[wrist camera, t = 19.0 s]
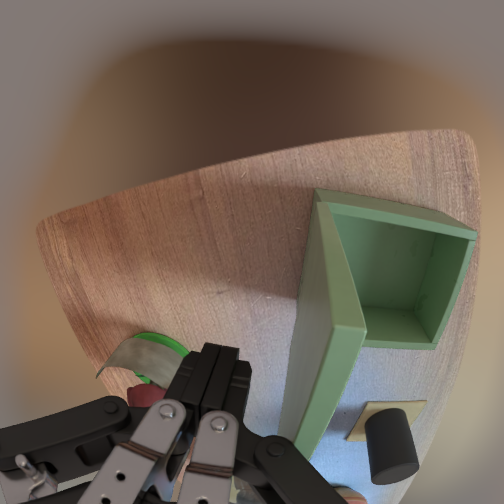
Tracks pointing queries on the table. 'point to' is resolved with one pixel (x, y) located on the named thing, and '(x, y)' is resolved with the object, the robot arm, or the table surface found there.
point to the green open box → (399, 266)
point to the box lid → (321, 338)
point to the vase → (351, 495)
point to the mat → (371, 408)
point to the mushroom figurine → (148, 365)
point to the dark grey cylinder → (390, 447)
